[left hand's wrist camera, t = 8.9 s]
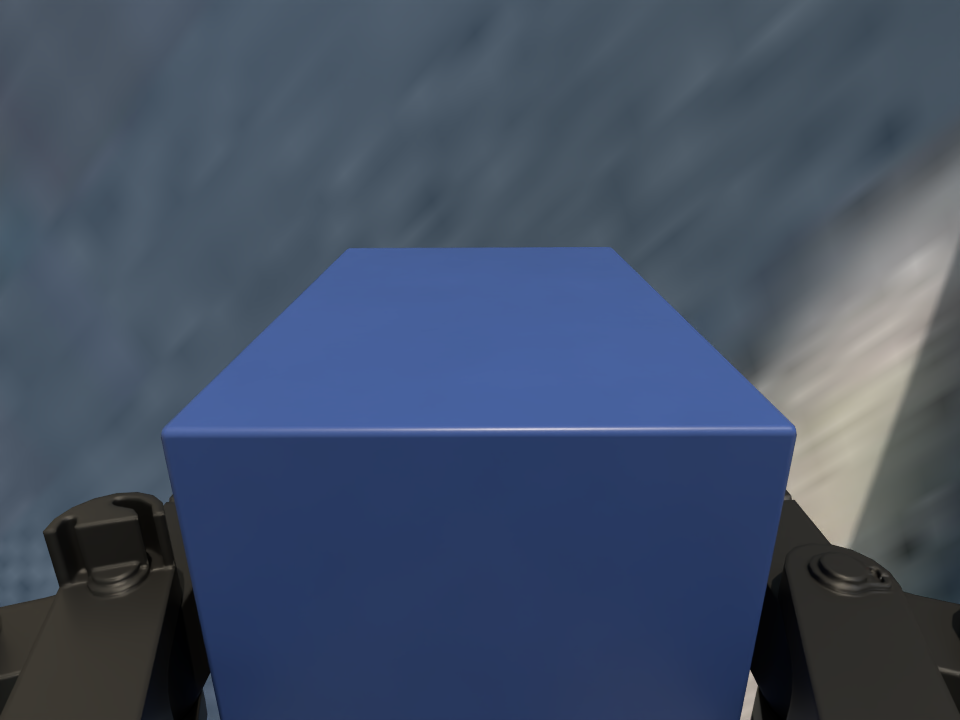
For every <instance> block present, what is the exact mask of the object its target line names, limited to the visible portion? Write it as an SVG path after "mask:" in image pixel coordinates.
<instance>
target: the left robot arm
mask: <svg viewBox="0 0 960 720" xmlns="http://www.w3.org/2000/svg"><path fill="white" fill-rule="evenodd" d="M169 499H170V500H169V502H166V503H165V505H164V506H163V502H161V501H160V500H159V499H157V498H156V497H155V496H153V495H149V494H144V493H139V492H131V493H116V494H111V495H107V496H103V497H99V498H94V499H92V500H89V501H87V502H85V503H82V504H80V505H77V506H75V507H72V508H71V509H69V510H68V511H66V512H65V513H63V514H61V515H60V516H58V517H57V518H55V519H54V520H53V521H52V522H51V523H50V524H49V526H48V527H47V528H46V529H45V530H44V531H43V534H44V537H45V541H46V544H47V547H48V550H49V554H50V557H51V560H52V564H53V567H54V570H55V573H56V577H57V580H58V583H59V590H58V592H57V594H56V595H54V596H50V597H46V598H42V599H37V600H32V601H28V602H23V603H18V604H13V605H9V606H4V607H0V720H207V709H206V702H205V697H204V692H203V687H204V684H205V682H206V680H207V678H208V676H209V674H210V667H209V663H208V658H207V653H206V648H205V644H204V639H203V634H202V629H201V625H200V620H199V615H198V610H197V606H196V601H195V596H194V591H193V587H192V582H191V577H190V572H189V568H188V563H187V558H186V554H185V549H184V544H183V539H182V535H181V530H180V525H179V520H178V516H177V511H176V506H175V501H174V497H173V495H172V496H171V497H170V498H169ZM750 670H751V672H752V674H753V676H754V678H755V680H756V682H757V684H758V687H757V692H756V697H755V701H754V706H753V711H752V715H751V720H960V604H955V603H951V602H946V601H941V600H936V599H932V598H927V597H922V596H917V595H913V594H910V593H906V592H903V591H902V588H901V586H900V585H899V584H898V582H897V581H896V580H895V578H894V577H893V576H892V574H891V573H890V572H889V571H887V570H886V569H885V568H883V567H882V566H881V565H879V564H878V563H877V562H875V561H874V560H872V559H870V558H868V557H866V556H864V555H862V554H860V553H858V552H855V551H853V550H850V549H847V548H843V547H839V546H835V545H832V544H830V543H829V541H828V540H827V539H826V538H825V536H824V535H823V534H822V533H821V532H820V530H819V529H818V528H817V527H816V526H815V524H814V523H813V522H812V521H811V519H810V518H809V517H808V516H807V515H806V513H805V512H804V511H803V510H802V508H801V507H800V506H799V505H798V504H797V502H796V501H795V500H792V498H791V495H790V494H789V493H788V491H787V490H786V491H785V496H784V501H783V506H782V511H781V516H780V521H779V526H778V531H777V536H776V541H775V546H774V551H773V556H772V561H771V566H770V571H769V576H768V581H767V586H766V591H765V596H764V601H763V606H762V611H761V616H760V621H759V626H758V631H757V636H756V641H755V646H754V652H753V657H752V662H751V667H750Z"/></svg>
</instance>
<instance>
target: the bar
mask: <svg viewBox="0 0 960 720" xmlns="http://www.w3.org/2000/svg"><path fill="white" fill-rule="evenodd" d="M796 436H797V434H796V429H795V426H794V425H793V424H792V423H791V422H790V421H789V420H788V419H787V418H786V417H785V416H784V415H783V414H782V413H781V412H780V411H779V410H778V409H777V408H776V407H775V406H774V405H773V404H771V403H770V402H769V401H768V400H767V399H766V398H765V397H764V396H763V395H762V394H761V393H760V392H759V391H758V390H757V389H756V388H755V387H754V386H753V385H752V384H751V383H750V382H749V381H748V380H747V379H746V378H745V377H744V376H743V375H742V374H741V373H740V372H739V371H738V370H737V369H736V368H735V367H733V366H732V365H731V364H730V363H729V362H728V361H727V360H726V359H725V358H724V357H723V356H722V355H721V354H720V353H719V352H718V351H717V350H716V349H715V348H714V347H713V346H712V345H711V344H710V343H709V342H708V341H707V340H706V339H705V338H704V337H703V336H702V335H701V334H700V333H699V332H698V331H697V330H695V329H694V328H693V327H692V326H691V325H690V324H689V323H688V322H687V321H686V320H685V319H684V318H683V317H682V316H681V315H680V314H679V313H678V312H677V311H676V310H675V309H674V308H673V307H672V306H671V305H670V304H669V303H668V302H667V301H666V300H665V299H664V298H663V297H662V296H661V295H660V294H658V293H657V292H656V291H655V290H654V289H653V288H652V287H651V286H650V285H649V284H648V283H647V282H646V281H645V280H644V279H643V278H642V277H641V276H640V275H639V274H638V273H637V272H636V271H635V270H634V269H633V268H632V267H631V266H630V265H629V264H628V263H627V262H626V261H625V260H624V259H623V258H622V257H620V256H619V255H618V254H617V253H616V252H615V251H614V250H613V249H612V248H610V247H550V248H349V249H347V250H346V251H345V252H344V253H343V254H342V255H341V256H340V257H339V258H338V259H337V260H336V261H335V262H334V263H333V264H332V265H330V266H329V267H328V268H327V269H326V270H325V271H324V272H323V273H322V274H321V275H320V276H319V277H318V278H317V279H316V280H315V281H314V282H313V283H312V284H311V285H310V286H309V287H308V288H307V289H306V290H305V291H304V292H303V293H302V294H301V295H300V296H299V297H298V298H297V299H296V300H294V301H293V302H292V303H291V304H290V305H289V306H288V307H287V308H286V309H285V310H284V311H283V312H282V313H281V314H280V315H279V316H278V317H277V318H276V319H275V320H274V321H273V322H272V323H271V324H270V325H269V326H268V327H267V328H266V329H265V330H264V331H263V332H262V333H261V334H260V335H258V336H257V337H256V338H255V339H254V340H253V341H252V342H251V343H250V344H249V345H248V346H247V347H246V348H245V349H244V350H243V351H242V352H241V353H240V354H239V355H238V356H237V357H236V358H235V359H234V360H233V361H232V362H231V363H230V364H229V365H228V366H227V367H226V368H225V369H224V370H222V371H221V372H220V373H219V374H218V375H217V376H216V377H215V378H214V379H213V380H212V381H211V382H210V383H209V384H208V385H207V386H206V387H205V388H204V389H203V390H202V391H201V392H200V393H199V394H198V395H197V396H196V397H195V398H194V399H193V400H192V401H191V402H190V403H189V404H188V405H186V406H185V407H184V408H183V409H182V410H181V411H180V412H179V413H178V414H177V415H176V416H175V417H174V418H173V419H172V420H171V421H170V422H169V423H168V424H167V425H166V426H165V427H164V428H163V430H162V434H161V440H162V444H163V449H164V454H165V459H166V463H167V468H168V473H169V478H170V482H171V487H172V492H173V497H174V501H175V506H176V511H177V516H178V520H179V525H180V530H181V535H182V539H183V544H184V549H185V554H186V558H187V563H188V568H189V572H190V577H191V582H192V587H193V591H194V596H195V601H196V606H197V610H198V615H199V620H200V625H201V629H202V634H203V639H204V644H205V648H206V653H207V658H208V663H209V667H210V672H211V677H212V682H213V686H214V691H215V696H216V701H217V705H218V710H219V715H220V720H740V717H741V712H742V707H743V702H744V697H745V692H746V687H747V682H748V677H749V672H750V667H751V662H752V657H753V652H754V646H755V641H756V636H757V631H758V626H759V621H760V616H761V611H762V606H763V601H764V596H765V591H766V586H767V581H768V576H769V571H770V566H771V561H772V556H773V551H774V546H775V541H776V536H777V531H778V526H779V521H780V516H781V511H782V506H783V501H784V496H785V491H786V486H787V481H788V476H789V471H790V466H791V461H792V456H793V451H794V446H795V441H796Z"/></svg>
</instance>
